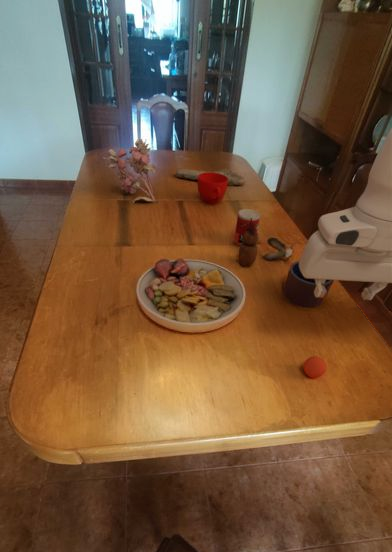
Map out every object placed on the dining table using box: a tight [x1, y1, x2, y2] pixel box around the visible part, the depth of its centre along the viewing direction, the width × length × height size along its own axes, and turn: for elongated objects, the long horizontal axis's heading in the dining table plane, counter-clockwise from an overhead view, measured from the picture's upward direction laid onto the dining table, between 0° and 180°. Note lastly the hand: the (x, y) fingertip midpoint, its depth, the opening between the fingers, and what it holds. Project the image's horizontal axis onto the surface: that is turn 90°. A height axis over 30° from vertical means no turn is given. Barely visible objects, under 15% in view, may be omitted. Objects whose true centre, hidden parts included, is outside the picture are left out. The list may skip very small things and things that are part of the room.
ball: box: [302, 355, 327, 379], centre depth 73 cm, size 5×5×5 cm
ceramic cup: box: [197, 171, 228, 206], centre depth 136 cm, size 13×17×10 cm
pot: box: [282, 260, 335, 309], centre depth 94 cm, size 13×13×8 cm
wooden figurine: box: [238, 218, 259, 268], centre depth 102 cm, size 7×6×15 cm
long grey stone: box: [175, 168, 246, 187], centre depth 158 cm, size 35×5×10 cm
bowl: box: [135, 258, 247, 334], centre depth 88 cm, size 30×30×8 cm
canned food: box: [233, 208, 261, 248], centre depth 113 cm, size 8×8×11 cm
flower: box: [102, 138, 159, 204], centre depth 132 cm, size 20×22×25 cm
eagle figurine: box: [262, 237, 295, 261], centre depth 109 cm, size 8×7×9 cm
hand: (342, 296), depth 61 cm, fingers open, 8 cm apart
